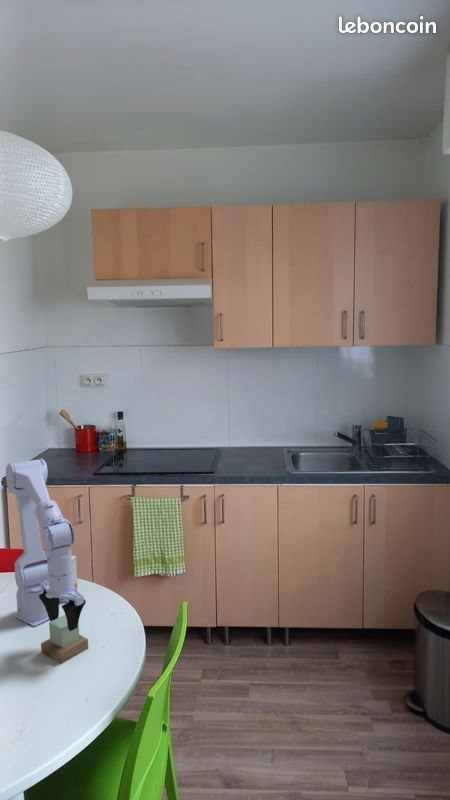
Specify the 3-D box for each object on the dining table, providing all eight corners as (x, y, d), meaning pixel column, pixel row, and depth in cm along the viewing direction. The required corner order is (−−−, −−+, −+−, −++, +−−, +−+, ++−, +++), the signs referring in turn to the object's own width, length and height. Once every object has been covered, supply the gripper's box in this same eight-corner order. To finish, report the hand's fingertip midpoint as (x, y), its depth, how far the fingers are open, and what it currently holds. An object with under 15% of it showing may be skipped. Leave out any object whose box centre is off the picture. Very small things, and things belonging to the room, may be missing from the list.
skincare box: (69, 602, 165) (66, 563, 163) (55, 601, 166) (53, 562, 164) (78, 593, 171) (76, 555, 169) (65, 592, 171) (63, 554, 170)
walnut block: (41, 654, 139) (40, 643, 139) (68, 640, 146) (67, 629, 145) (61, 665, 134) (61, 653, 134) (88, 650, 141) (87, 638, 140)
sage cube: (50, 641, 140) (49, 622, 139) (67, 632, 144) (66, 614, 143) (62, 648, 137) (61, 628, 136) (79, 639, 140) (78, 620, 140)
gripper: (28, 570, 139) (32, 622, 140) (65, 585, 130) (68, 640, 132) (52, 560, 144) (55, 610, 146) (89, 574, 135) (92, 627, 137)
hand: (63, 624), depth 139 cm, fingers open, 7 cm apart
